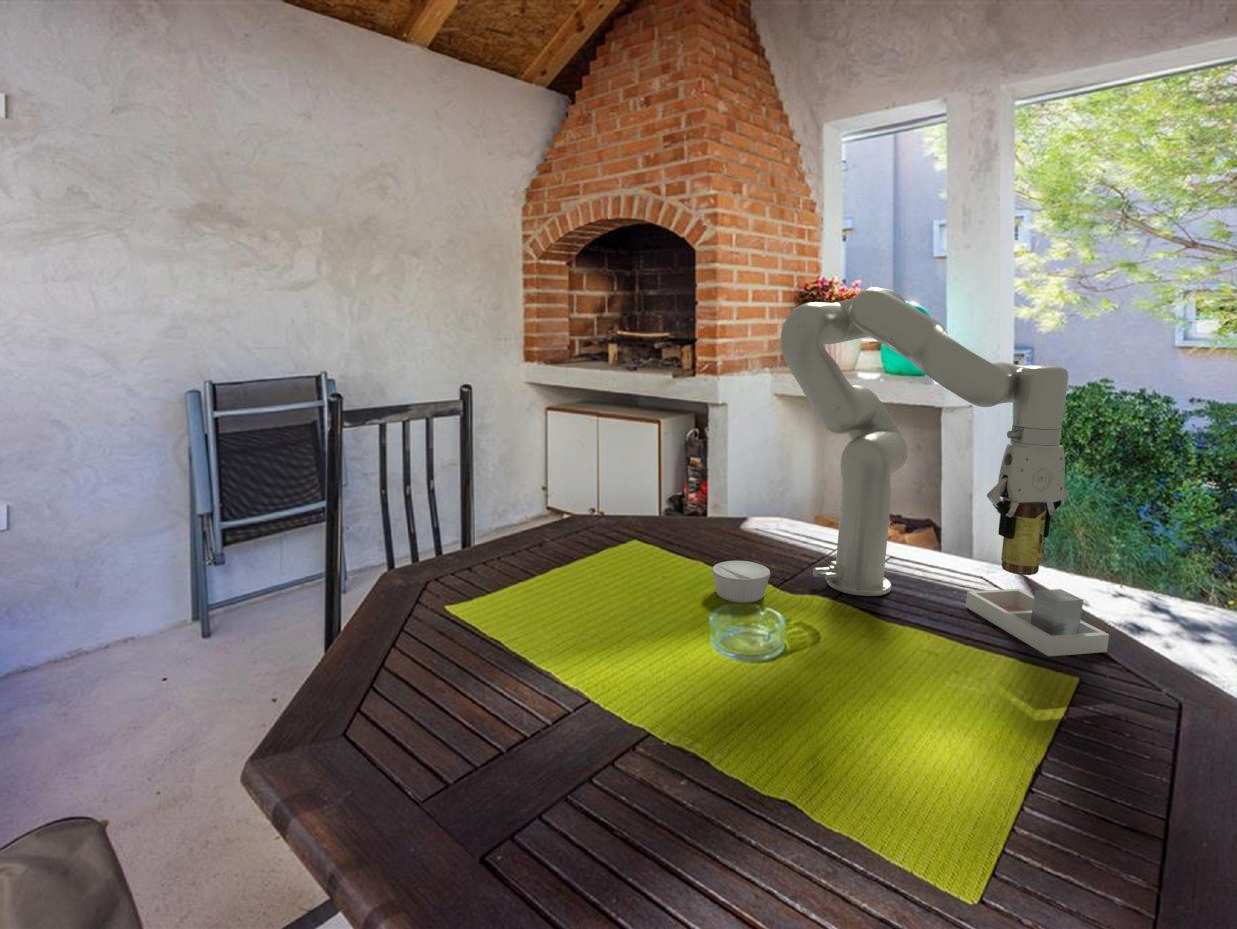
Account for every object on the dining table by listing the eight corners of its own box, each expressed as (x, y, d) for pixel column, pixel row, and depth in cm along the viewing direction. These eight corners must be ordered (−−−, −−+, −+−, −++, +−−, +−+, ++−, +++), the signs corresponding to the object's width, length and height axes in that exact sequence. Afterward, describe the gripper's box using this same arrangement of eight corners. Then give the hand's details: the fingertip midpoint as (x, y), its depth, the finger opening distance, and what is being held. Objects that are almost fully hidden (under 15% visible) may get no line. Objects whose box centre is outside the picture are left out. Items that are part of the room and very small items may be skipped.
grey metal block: (1050, 646, 124) (1057, 601, 122) (1029, 634, 128) (1035, 590, 127) (1076, 644, 125) (1083, 599, 123) (1054, 632, 129) (1060, 589, 128)
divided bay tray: (1105, 657, 122) (1109, 634, 122) (1047, 661, 120) (1050, 638, 120) (1016, 608, 143) (1018, 588, 142) (964, 611, 141) (967, 591, 140)
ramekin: (704, 599, 144) (705, 573, 143) (719, 581, 154) (720, 557, 153) (762, 609, 140) (763, 582, 139) (773, 589, 150) (775, 564, 149)
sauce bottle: (1044, 578, 130) (1058, 467, 127) (1005, 575, 132) (1018, 465, 128) (1031, 566, 137) (1044, 460, 133) (995, 563, 138) (1007, 458, 134)
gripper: (1006, 441, 124) (994, 544, 128) (1095, 439, 128) (1081, 540, 131) (977, 434, 132) (966, 532, 135) (1062, 432, 135) (1049, 528, 138)
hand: (1023, 535), depth 133 cm, fingers closed on sauce bottle, 6 cm apart
